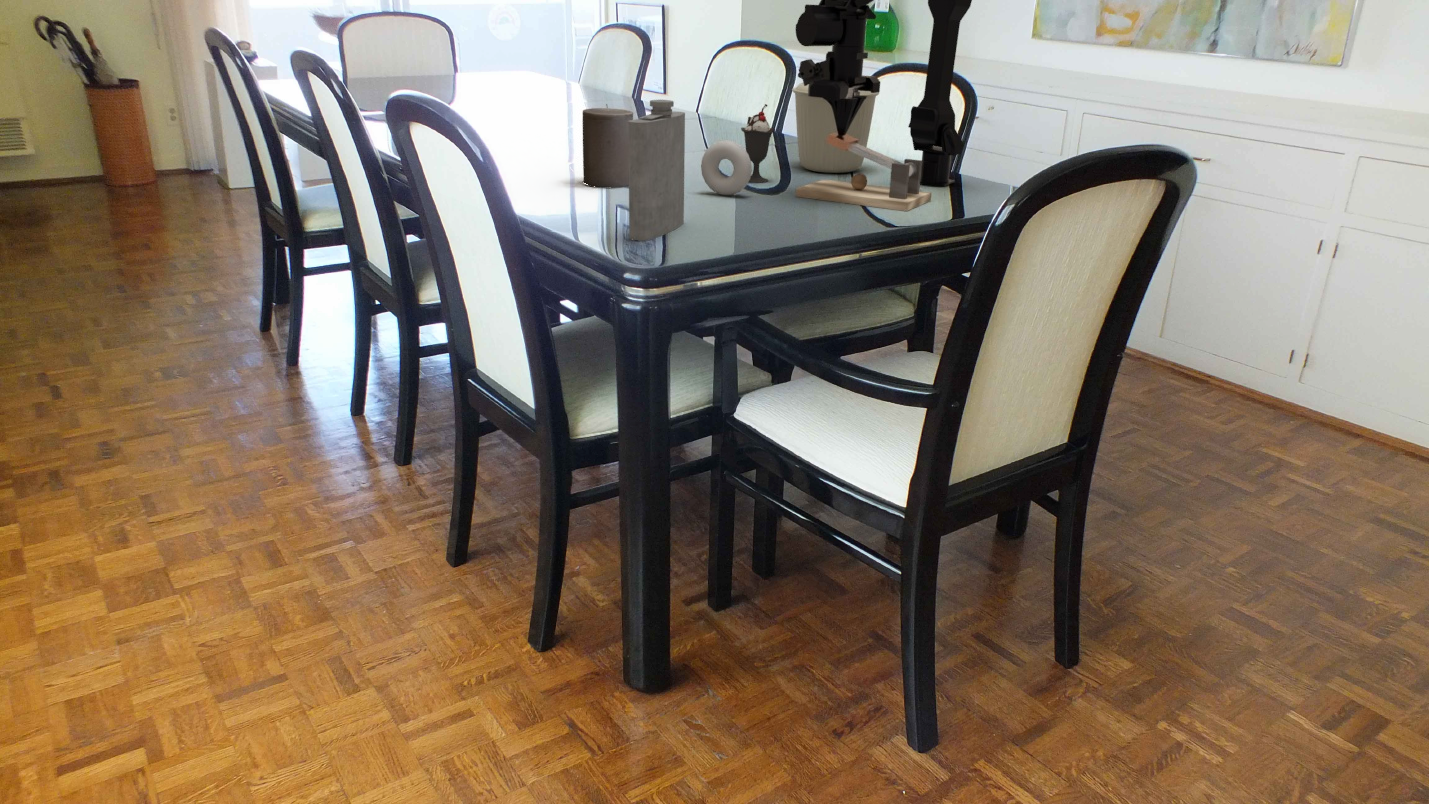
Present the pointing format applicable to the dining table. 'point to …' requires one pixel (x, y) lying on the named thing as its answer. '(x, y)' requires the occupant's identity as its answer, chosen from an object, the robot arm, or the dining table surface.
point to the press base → (873, 190)
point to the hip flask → (656, 171)
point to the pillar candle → (606, 147)
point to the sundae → (757, 142)
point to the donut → (738, 160)
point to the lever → (865, 151)
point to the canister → (828, 132)
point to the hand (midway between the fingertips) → (841, 135)
